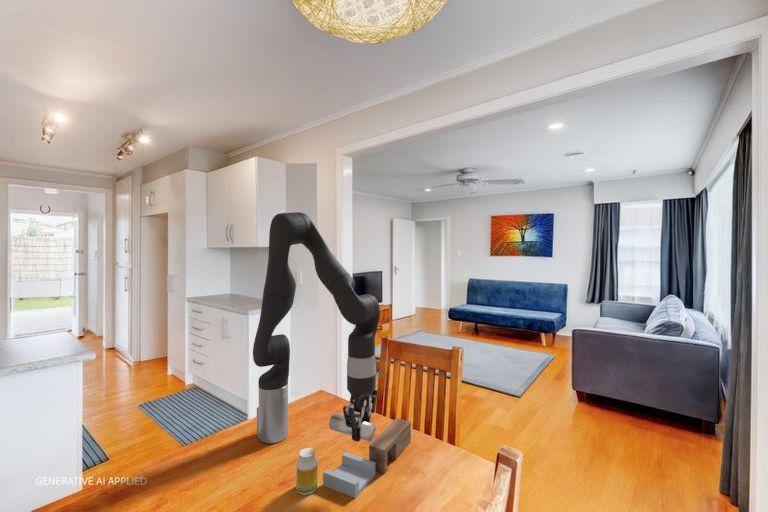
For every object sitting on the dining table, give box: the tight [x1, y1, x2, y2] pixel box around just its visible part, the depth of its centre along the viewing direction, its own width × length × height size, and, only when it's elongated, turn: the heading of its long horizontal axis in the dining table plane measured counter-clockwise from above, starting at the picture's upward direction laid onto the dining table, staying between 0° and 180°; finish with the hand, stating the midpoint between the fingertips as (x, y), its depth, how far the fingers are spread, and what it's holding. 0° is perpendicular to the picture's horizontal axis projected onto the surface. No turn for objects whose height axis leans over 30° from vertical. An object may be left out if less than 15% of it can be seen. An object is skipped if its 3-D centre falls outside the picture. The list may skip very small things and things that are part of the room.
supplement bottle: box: [295, 447, 318, 496], centre depth 91 cm, size 5×5×10 cm
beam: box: [368, 417, 412, 474], centre depth 106 cm, size 5×18×7 cm, turn 152°
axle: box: [328, 412, 376, 442], centre depth 93 cm, size 12×4×4 cm, turn 62°
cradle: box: [322, 451, 377, 499], centre depth 94 cm, size 10×10×4 cm
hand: (361, 435), depth 92 cm, fingers closed on axle, 4 cm apart
